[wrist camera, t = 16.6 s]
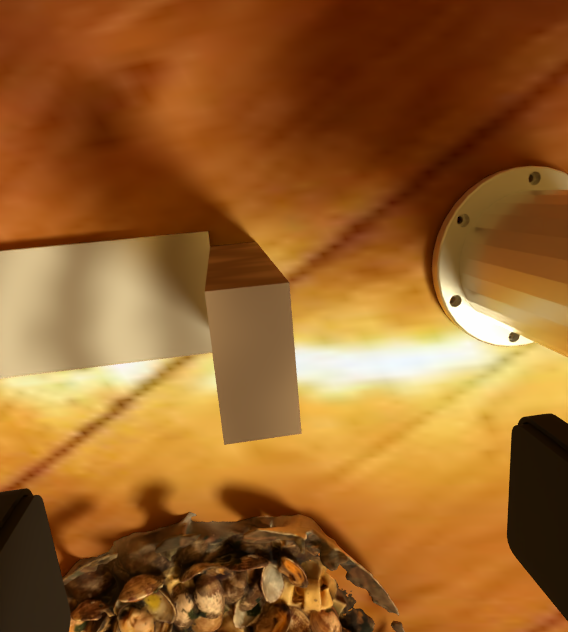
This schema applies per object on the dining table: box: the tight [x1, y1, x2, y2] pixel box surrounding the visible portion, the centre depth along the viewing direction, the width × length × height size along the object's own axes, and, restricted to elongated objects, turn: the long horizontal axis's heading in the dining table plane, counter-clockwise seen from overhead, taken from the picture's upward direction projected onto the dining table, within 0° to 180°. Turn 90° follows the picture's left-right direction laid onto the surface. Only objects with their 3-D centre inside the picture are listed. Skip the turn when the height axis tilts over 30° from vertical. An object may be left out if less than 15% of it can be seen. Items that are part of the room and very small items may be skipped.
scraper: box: [0, 231, 301, 445], centre depth 24 cm, size 20×8×15 cm, turn 95°
